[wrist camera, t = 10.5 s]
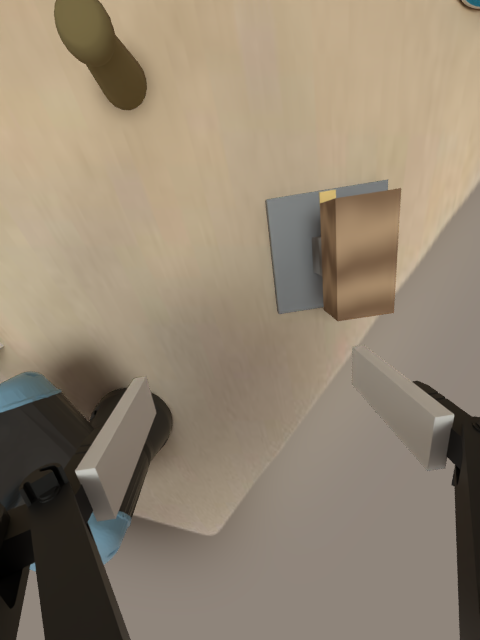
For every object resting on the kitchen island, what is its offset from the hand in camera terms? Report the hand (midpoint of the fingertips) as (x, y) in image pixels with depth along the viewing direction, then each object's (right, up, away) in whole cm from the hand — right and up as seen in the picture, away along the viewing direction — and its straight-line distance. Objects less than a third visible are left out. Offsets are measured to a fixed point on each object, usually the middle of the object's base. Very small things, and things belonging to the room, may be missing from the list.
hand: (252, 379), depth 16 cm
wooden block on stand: (+13, +15, +24) cm, 31 cm away
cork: (-16, +35, +18) cm, 43 cm away
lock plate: (+13, +15, +26) cm, 33 cm away
